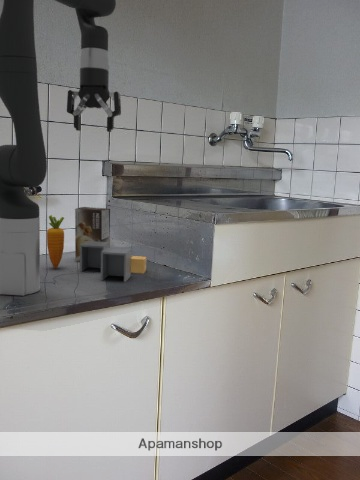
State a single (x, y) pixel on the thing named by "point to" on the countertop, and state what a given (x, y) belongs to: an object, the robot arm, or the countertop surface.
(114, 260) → the cube hood
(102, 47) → the robot arm
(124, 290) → the countertop surface
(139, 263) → the cube
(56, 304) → the countertop surface
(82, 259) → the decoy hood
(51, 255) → the carrot
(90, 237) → the coffee box
